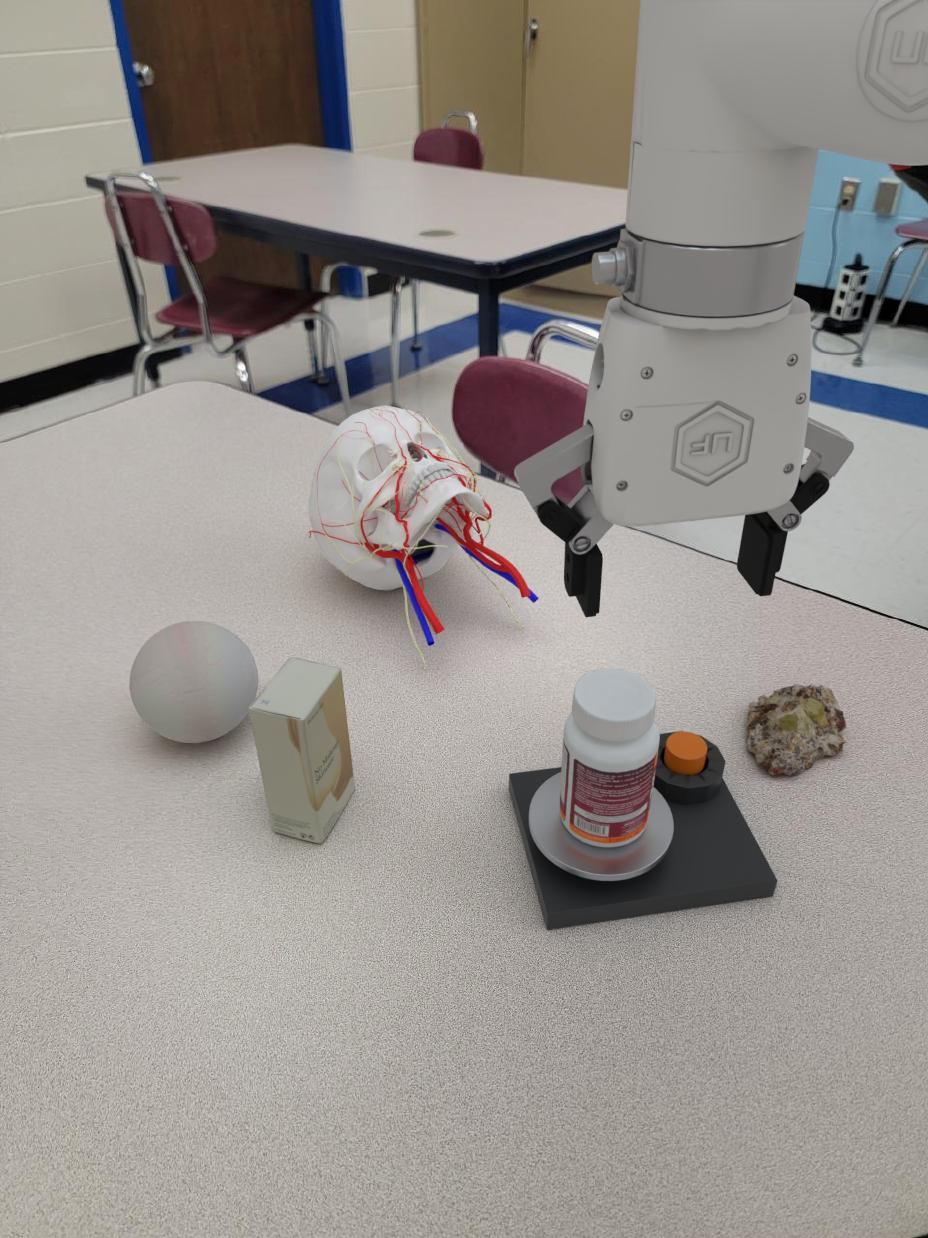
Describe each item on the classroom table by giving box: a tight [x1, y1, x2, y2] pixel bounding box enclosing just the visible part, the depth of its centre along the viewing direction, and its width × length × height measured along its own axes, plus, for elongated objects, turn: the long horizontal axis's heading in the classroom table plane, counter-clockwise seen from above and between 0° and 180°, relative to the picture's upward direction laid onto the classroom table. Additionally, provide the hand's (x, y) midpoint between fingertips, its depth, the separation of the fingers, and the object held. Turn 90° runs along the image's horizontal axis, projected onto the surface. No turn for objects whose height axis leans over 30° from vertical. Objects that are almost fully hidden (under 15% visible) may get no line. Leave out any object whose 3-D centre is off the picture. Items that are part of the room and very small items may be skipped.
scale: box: [508, 730, 778, 931], centre depth 66 cm, size 16×14×4 cm
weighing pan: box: [529, 772, 674, 881], centre depth 63 cm, size 10×10×1 cm
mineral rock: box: [745, 683, 847, 777], centre depth 74 cm, size 11×4×8 cm
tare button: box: [664, 731, 707, 776], centre depth 68 cm, size 3×3×2 cm
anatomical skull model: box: [308, 405, 539, 672], centre depth 87 cm, size 16×19×25 cm
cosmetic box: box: [248, 656, 356, 845], centre depth 66 cm, size 6×4×12 cm
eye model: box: [129, 620, 259, 744], centre depth 74 cm, size 10×10×10 cm
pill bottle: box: [560, 667, 660, 847], centre depth 60 cm, size 6×6×11 cm
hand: (669, 592), depth 50 cm, fingers open, 9 cm apart
